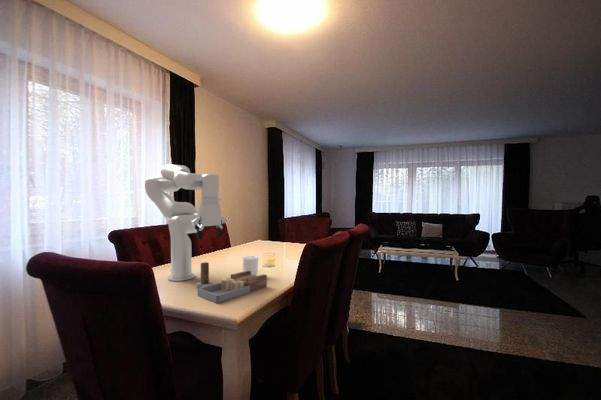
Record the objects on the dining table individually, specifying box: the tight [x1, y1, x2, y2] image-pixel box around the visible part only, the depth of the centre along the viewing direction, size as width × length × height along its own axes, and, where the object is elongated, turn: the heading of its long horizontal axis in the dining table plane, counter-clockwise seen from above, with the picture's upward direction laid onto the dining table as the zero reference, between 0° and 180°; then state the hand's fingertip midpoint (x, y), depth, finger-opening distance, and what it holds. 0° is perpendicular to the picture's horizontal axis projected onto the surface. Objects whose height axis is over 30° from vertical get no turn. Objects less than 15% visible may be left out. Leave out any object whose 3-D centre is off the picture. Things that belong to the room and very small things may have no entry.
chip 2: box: [230, 280, 244, 291], centre depth 122 cm, size 4×4×4 cm
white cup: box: [242, 255, 259, 276], centre depth 145 cm, size 8×8×10 cm
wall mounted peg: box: [196, 261, 213, 290], centre depth 127 cm, size 7×4×12 cm, turn 48°
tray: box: [197, 281, 251, 305], centre depth 119 cm, size 14×16×3 cm
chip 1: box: [221, 277, 235, 291], centre depth 125 cm, size 4×4×4 cm
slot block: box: [230, 271, 268, 294], centre depth 129 cm, size 13×10×6 cm
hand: (209, 238), depth 132 cm, fingers open, 9 cm apart
